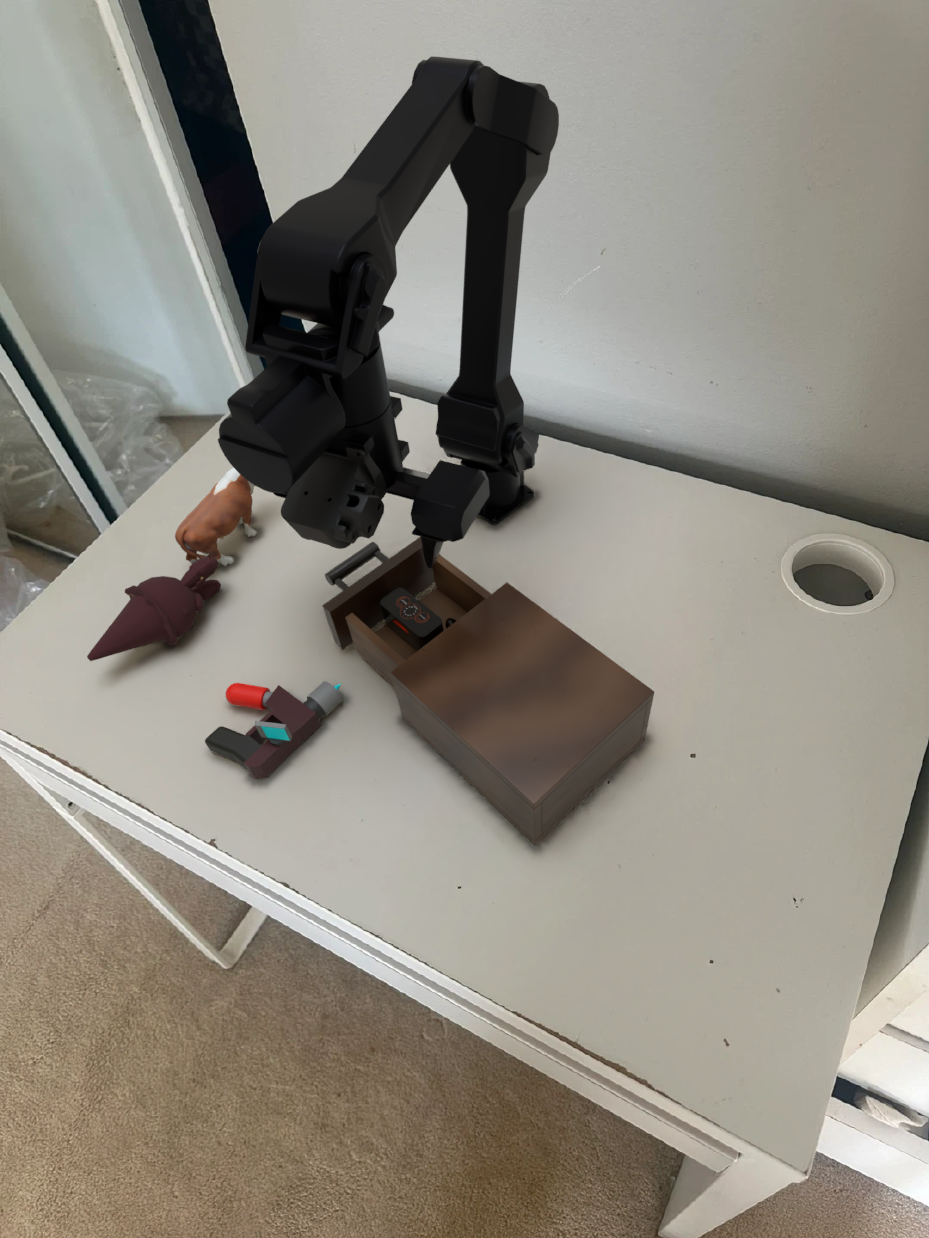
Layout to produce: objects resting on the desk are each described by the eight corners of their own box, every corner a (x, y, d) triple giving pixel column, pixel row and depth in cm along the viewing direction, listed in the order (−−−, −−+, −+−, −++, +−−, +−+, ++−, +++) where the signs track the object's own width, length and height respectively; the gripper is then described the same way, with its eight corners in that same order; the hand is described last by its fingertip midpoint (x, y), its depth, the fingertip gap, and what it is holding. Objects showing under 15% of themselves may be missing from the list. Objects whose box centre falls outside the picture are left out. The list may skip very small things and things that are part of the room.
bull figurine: (292, 509, 90) (273, 453, 83) (210, 588, 83) (182, 534, 77) (263, 497, 91) (242, 441, 85) (181, 573, 85) (151, 519, 79)
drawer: (305, 615, 79) (291, 577, 74) (400, 549, 83) (392, 509, 79) (441, 743, 69) (434, 707, 64) (540, 659, 73) (540, 620, 69)
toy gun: (357, 699, 73) (346, 669, 69) (259, 794, 68) (243, 767, 64) (286, 649, 77) (273, 618, 74) (190, 734, 72) (170, 706, 68)
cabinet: (402, 719, 71) (389, 672, 65) (509, 633, 76) (506, 581, 71) (534, 845, 63) (534, 804, 57) (645, 739, 68) (654, 691, 62)
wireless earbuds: (431, 665, 72) (427, 644, 70) (382, 623, 76) (377, 601, 73) (468, 635, 74) (465, 614, 72) (418, 595, 78) (414, 574, 75)
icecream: (104, 666, 70) (240, 574, 77) (54, 613, 72) (191, 529, 79) (120, 701, 76) (244, 612, 83) (72, 651, 77) (198, 569, 85)
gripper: (181, 444, 56) (246, 587, 68) (415, 507, 50) (441, 651, 62) (268, 356, 62) (313, 502, 74) (486, 403, 56) (496, 554, 68)
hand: (385, 550), depth 69 cm, fingers open, 9 cm apart
